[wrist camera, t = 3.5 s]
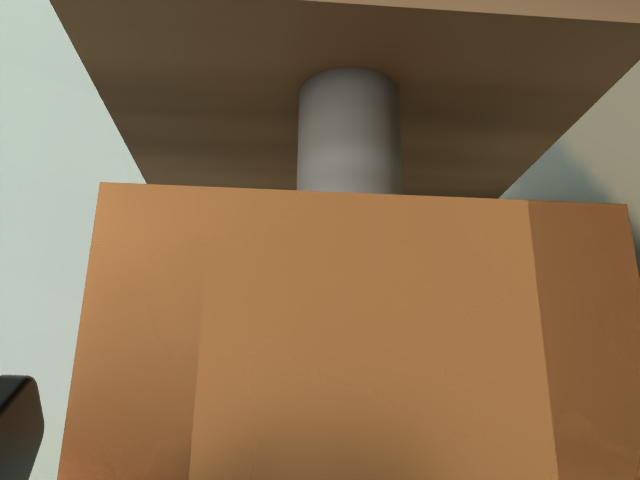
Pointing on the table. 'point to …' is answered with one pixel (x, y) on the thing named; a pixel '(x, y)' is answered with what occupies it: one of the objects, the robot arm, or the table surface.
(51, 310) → the table surface
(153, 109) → the walnut stand
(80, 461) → the C-link
